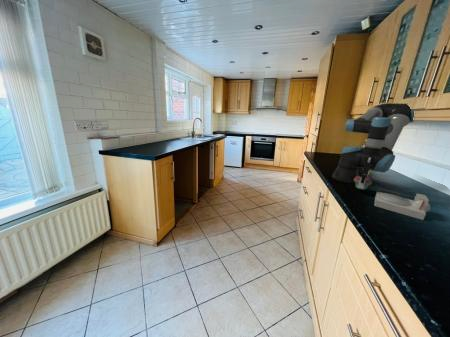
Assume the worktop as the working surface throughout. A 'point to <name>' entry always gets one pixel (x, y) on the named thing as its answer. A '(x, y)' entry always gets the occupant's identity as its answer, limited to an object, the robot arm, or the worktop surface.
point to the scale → (403, 204)
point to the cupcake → (367, 183)
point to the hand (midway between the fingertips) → (361, 185)
